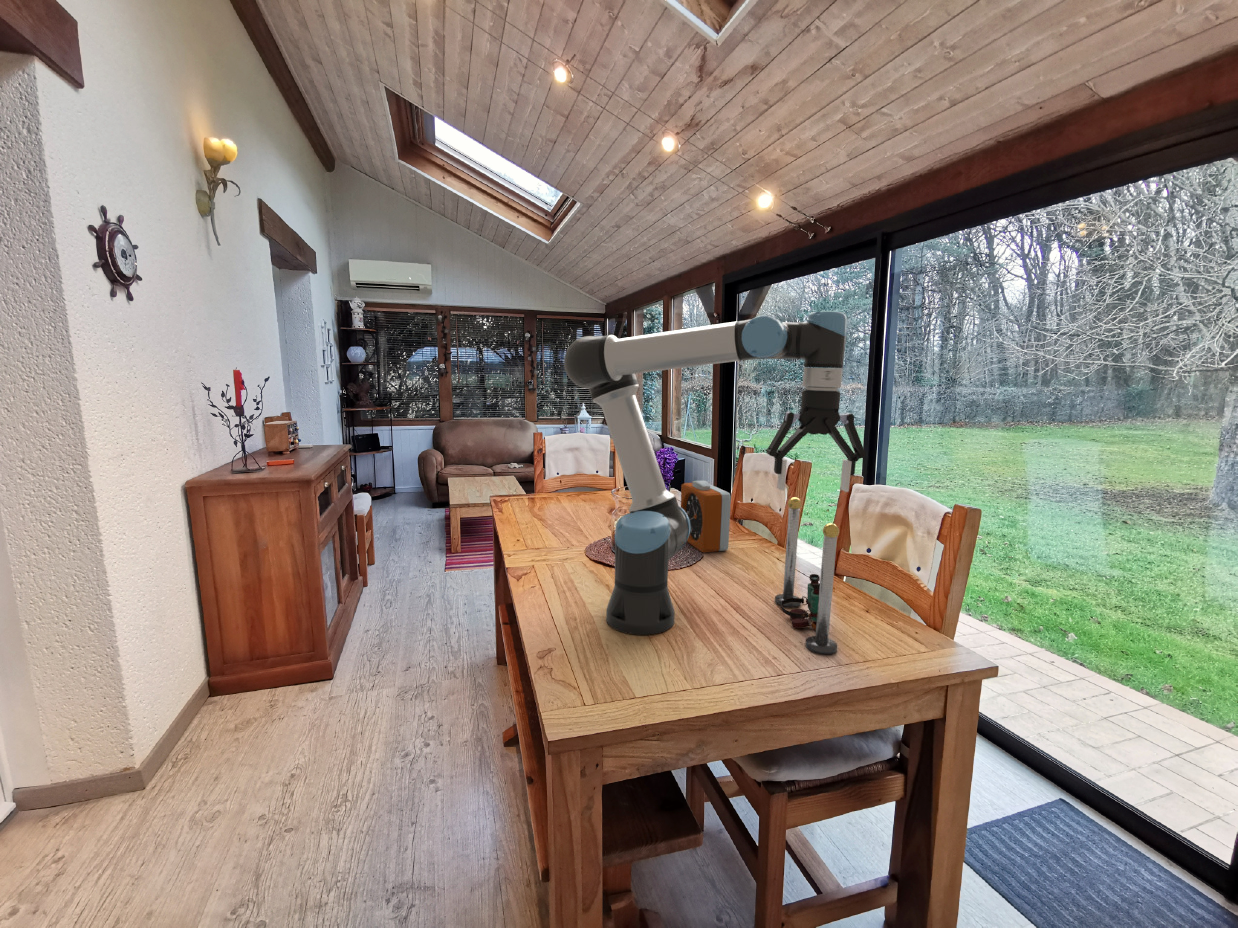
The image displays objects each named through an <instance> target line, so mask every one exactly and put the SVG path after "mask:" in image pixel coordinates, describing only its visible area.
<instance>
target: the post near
mask: <svg viewBox="0 0 1238 928" xmlns="http://www.w3.org/2000/svg"><path fill="white" fill-rule="evenodd" d="M822 534H823V541H822V542H823V543H822V544H823V545H822V556H821V567H820V576H819V577H820V580H819V584H820V589H819V601H818V613H817V625H816V629H815V635H813V636H808V637H807V638H806V639H805V643H804V645H805V648H806V649H807V650H808V651H810V652H811V653H813V654H816V655H821V656H832V655H834V654H836V653H837V652H838V643H837V642H835V641H834V640H833V639H831V638H829V634H830V632H829V631H830V623H831V610H832V600H833V599H832V598H833V586H834V577H835V564H836V563H835V562H836V552H837V544H838V543H837V540H838V536H839V534H840V529H839V526H838V525H837V524H836V523H833V522H828V523H826V524H825V525H824V526H823V527H822Z"/></svg>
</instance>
